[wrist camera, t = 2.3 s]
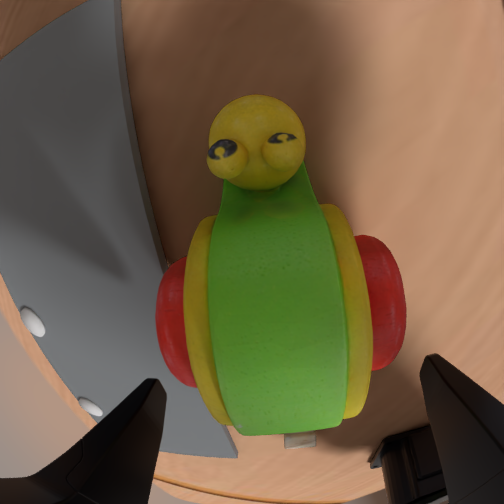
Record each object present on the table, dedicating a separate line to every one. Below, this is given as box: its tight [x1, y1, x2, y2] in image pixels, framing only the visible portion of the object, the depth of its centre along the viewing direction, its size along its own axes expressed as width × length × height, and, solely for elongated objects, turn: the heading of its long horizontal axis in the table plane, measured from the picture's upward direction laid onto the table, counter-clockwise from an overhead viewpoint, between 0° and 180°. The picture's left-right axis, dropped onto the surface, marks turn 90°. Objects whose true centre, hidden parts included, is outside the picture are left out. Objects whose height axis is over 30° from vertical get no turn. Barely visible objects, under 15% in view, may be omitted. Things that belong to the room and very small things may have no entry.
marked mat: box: [0, 0, 238, 458], centre depth 13 cm, size 28×11×1 cm, turn 8°
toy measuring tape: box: [155, 94, 406, 449], centre depth 10 cm, size 6×19×7 cm, turn 9°
